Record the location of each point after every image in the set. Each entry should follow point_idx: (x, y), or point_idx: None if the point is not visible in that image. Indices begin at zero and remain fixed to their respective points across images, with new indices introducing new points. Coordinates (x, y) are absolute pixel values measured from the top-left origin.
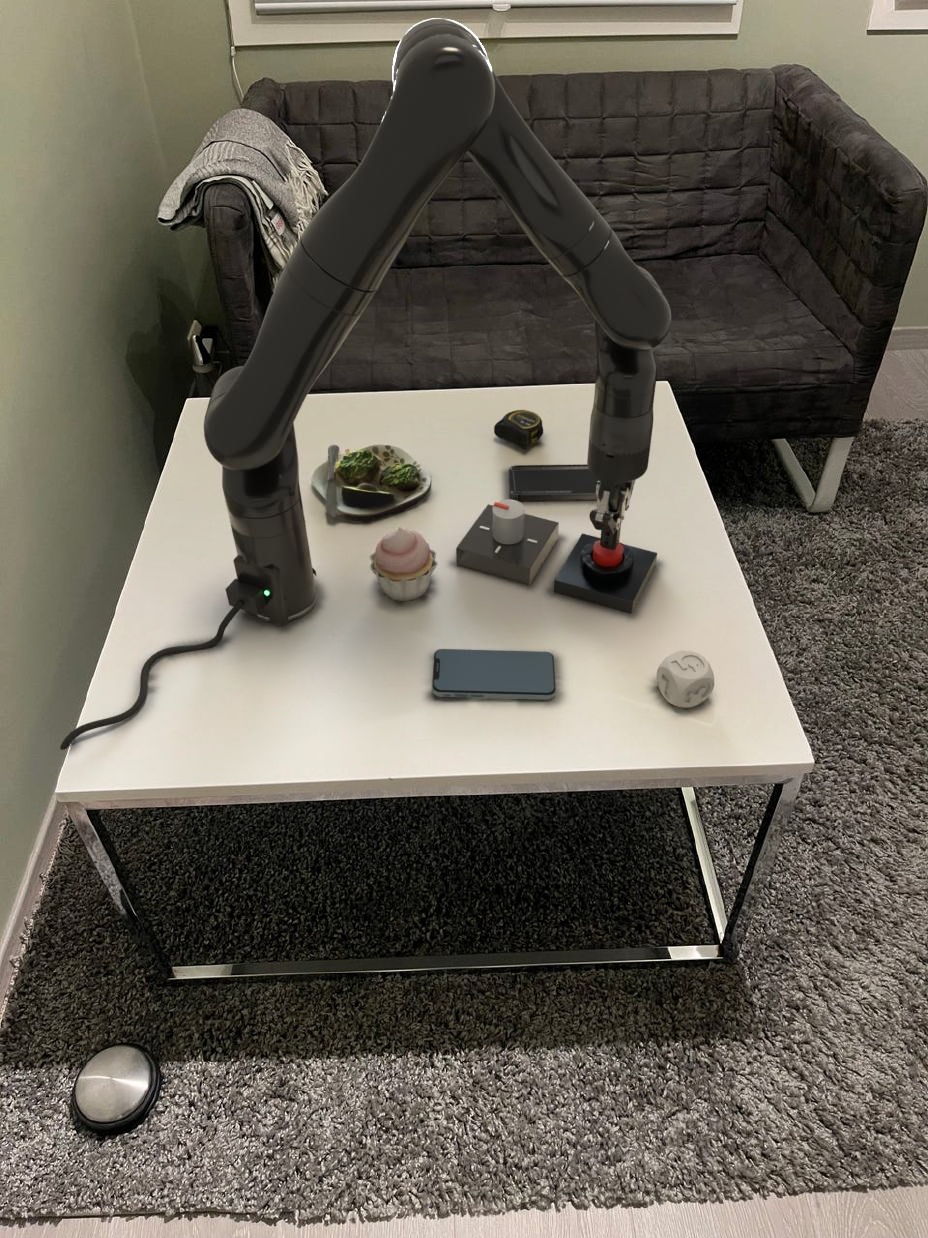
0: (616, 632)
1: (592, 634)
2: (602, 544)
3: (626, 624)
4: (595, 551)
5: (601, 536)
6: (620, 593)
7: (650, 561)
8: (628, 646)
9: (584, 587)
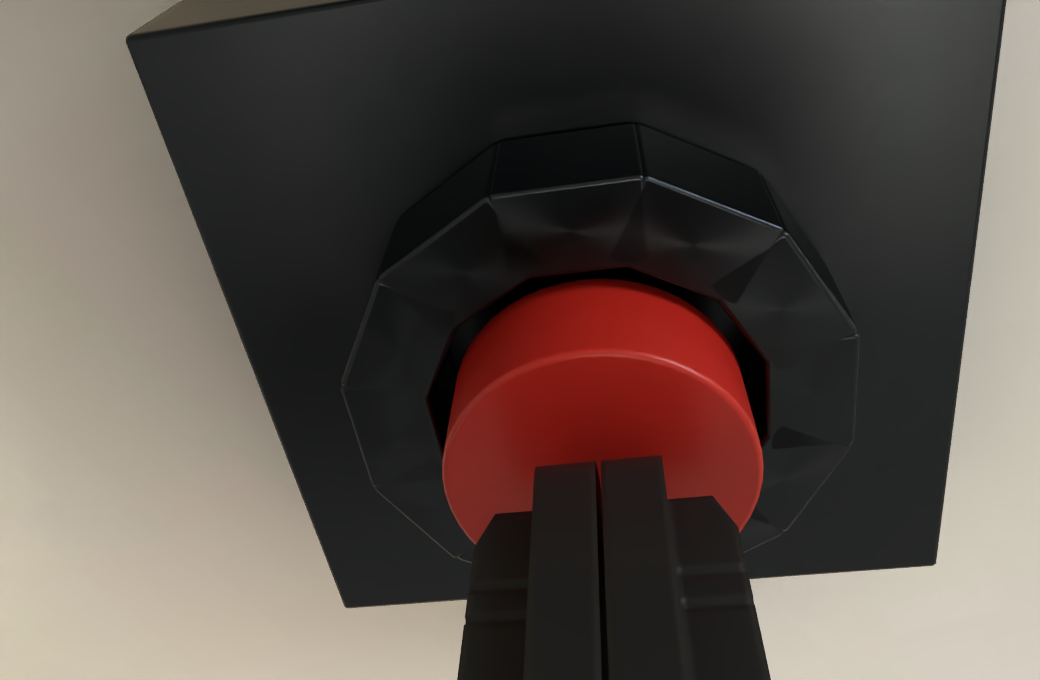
0: (177, 517)
1: (54, 426)
2: (479, 550)
3: (273, 534)
4: (471, 411)
5: (533, 567)
6: (366, 530)
7: (810, 564)
8: (137, 593)
9: (242, 312)
